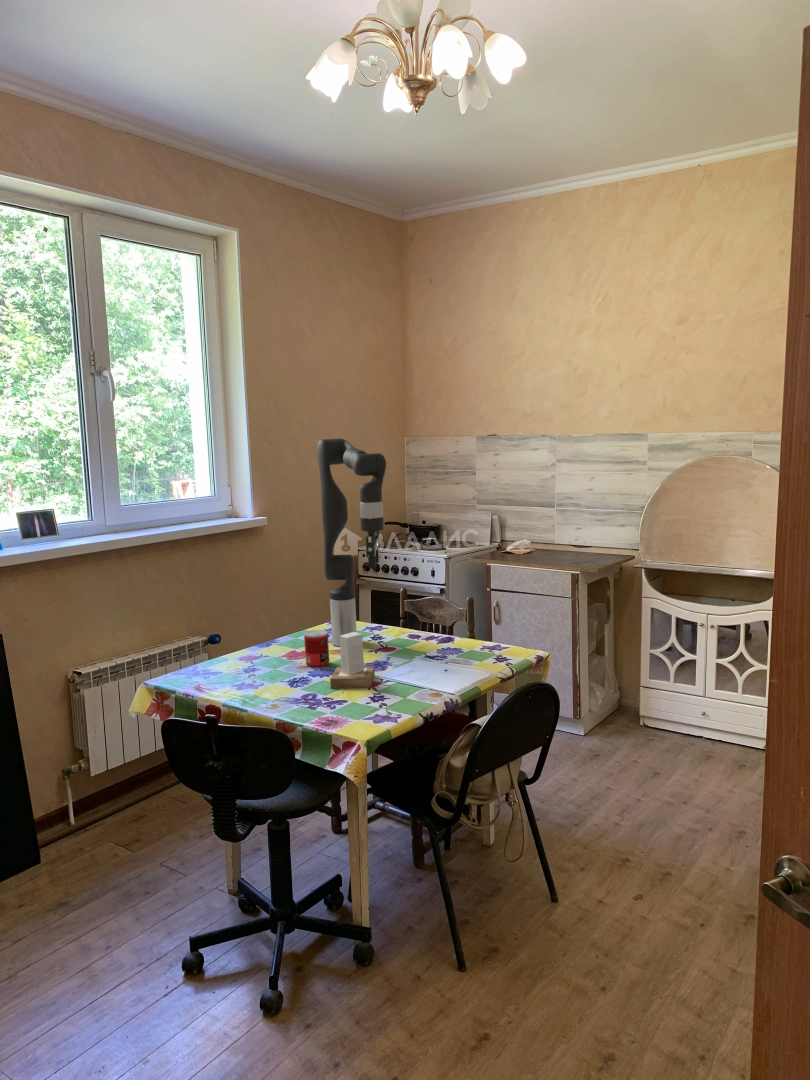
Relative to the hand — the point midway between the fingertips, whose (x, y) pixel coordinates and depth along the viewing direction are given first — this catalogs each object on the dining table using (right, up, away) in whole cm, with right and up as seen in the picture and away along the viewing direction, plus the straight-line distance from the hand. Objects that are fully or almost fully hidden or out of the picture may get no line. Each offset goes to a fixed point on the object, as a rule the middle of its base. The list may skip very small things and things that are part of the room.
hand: (373, 565), depth 241 cm
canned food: (-19, -34, +10) cm, 40 cm away
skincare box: (-6, -33, -10) cm, 35 cm away
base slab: (-6, -36, -9) cm, 38 cm away
